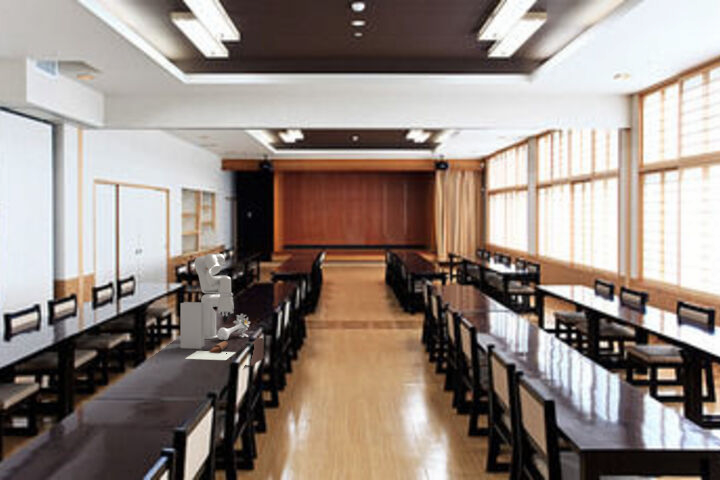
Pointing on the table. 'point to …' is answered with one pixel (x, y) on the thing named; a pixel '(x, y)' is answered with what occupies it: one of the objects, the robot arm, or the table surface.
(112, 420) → the table surface
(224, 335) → the flower vase
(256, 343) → the letter holder
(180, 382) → the table surface
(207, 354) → the paper sheet
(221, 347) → the sunglasses case
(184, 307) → the tall grey upright box
